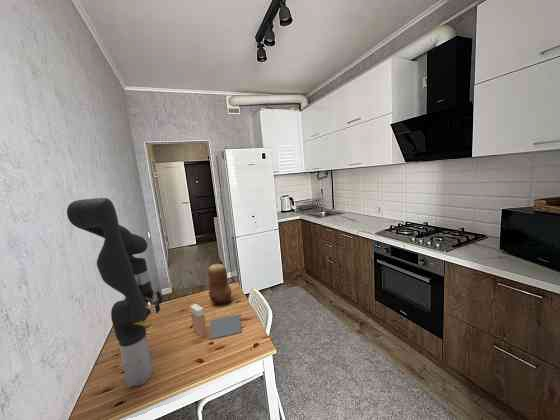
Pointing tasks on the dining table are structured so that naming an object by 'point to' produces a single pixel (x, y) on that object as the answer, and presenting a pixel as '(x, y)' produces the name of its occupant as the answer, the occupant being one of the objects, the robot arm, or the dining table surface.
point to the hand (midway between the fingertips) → (147, 314)
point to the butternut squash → (218, 284)
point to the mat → (225, 327)
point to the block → (198, 320)
